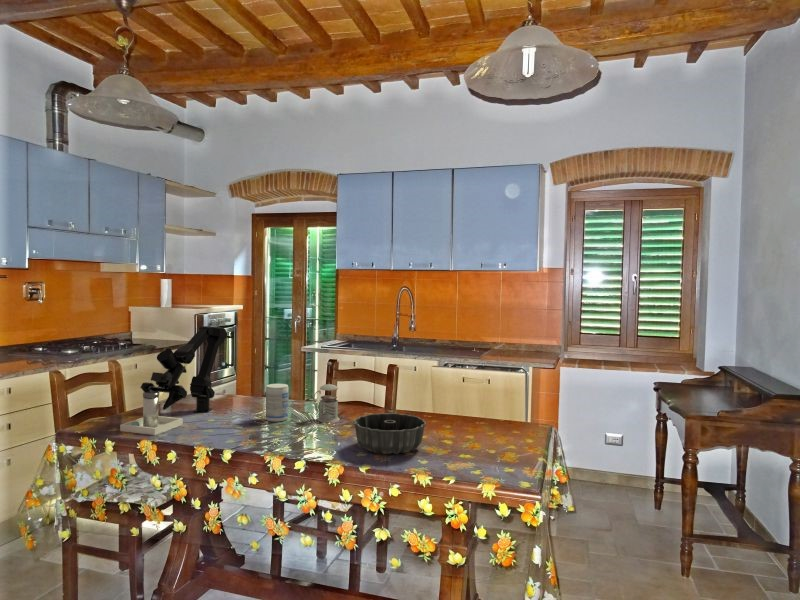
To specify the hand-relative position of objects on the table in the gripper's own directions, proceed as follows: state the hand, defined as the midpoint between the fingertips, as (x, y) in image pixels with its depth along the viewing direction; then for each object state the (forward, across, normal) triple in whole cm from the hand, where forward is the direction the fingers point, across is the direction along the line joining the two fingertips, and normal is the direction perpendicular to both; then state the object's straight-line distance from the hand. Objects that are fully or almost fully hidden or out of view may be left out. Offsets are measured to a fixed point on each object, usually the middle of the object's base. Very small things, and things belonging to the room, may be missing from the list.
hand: (153, 408), depth 221 cm
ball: (+9, -4, +2) cm, 10 cm away
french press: (-20, +58, +33) cm, 69 cm away
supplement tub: (-15, +38, +27) cm, 49 cm away
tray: (+6, 0, +5) cm, 8 cm away
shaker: (+7, 0, +4) cm, 8 cm away
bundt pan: (0, +95, +12) cm, 96 cm away
